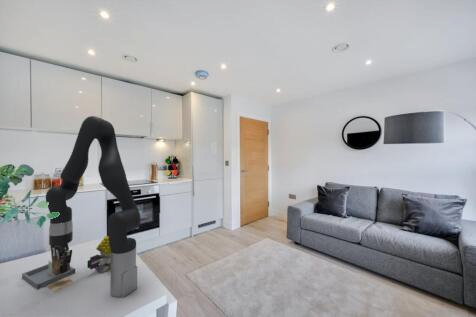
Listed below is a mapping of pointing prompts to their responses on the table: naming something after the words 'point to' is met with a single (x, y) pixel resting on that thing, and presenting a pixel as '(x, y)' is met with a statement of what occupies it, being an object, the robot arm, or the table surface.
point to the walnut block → (58, 266)
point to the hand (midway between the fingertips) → (60, 270)
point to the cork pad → (60, 284)
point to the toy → (101, 257)
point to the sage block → (50, 268)
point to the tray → (44, 276)
